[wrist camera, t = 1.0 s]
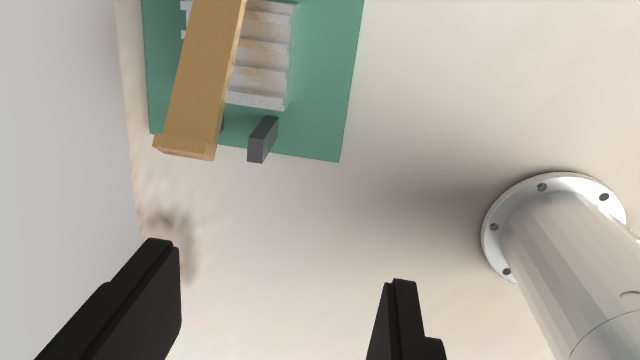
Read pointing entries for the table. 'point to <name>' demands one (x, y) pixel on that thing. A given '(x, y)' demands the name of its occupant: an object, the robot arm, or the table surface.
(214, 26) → the strap
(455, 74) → the table surface
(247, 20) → the heat sink
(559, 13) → the table surface
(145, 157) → the table surface
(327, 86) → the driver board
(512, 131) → the table surface
